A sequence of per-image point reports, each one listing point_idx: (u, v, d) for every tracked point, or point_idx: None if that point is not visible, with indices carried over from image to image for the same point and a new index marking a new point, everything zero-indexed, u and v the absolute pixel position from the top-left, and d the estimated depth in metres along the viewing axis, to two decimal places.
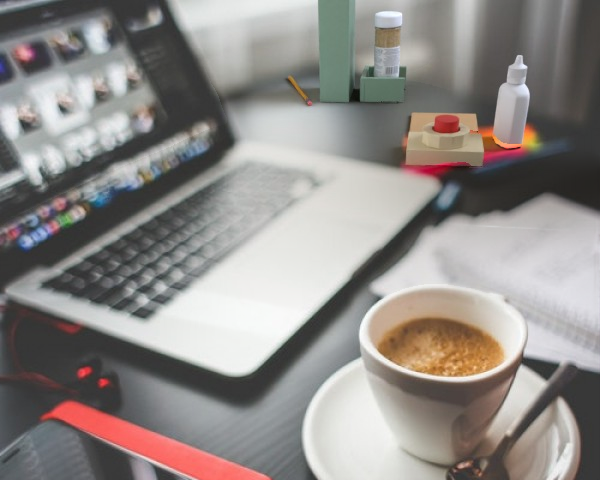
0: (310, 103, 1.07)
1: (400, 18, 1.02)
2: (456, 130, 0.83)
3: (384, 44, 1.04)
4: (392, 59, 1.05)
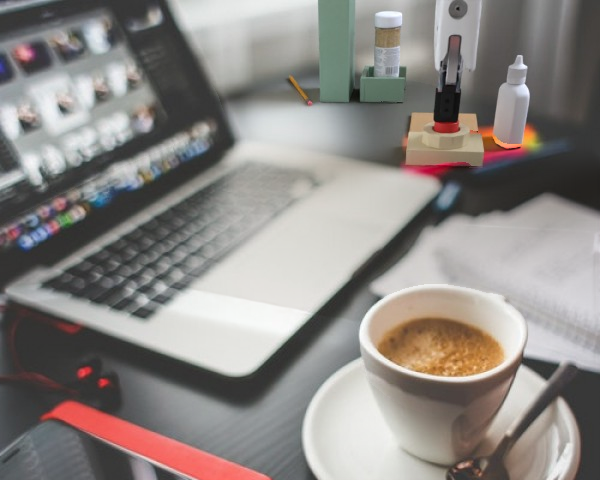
0: (310, 103, 1.07)
1: (400, 18, 1.02)
2: None
3: (384, 44, 1.04)
4: (392, 59, 1.05)
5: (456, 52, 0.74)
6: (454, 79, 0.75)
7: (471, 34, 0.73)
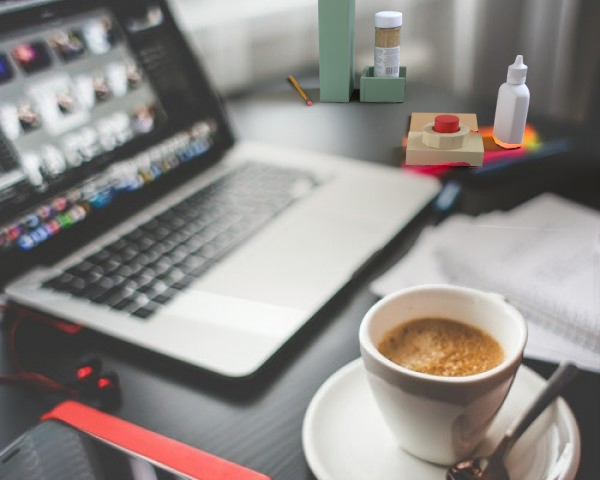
0: (310, 103, 1.07)
1: (400, 18, 1.02)
2: (456, 130, 0.83)
3: (384, 44, 1.04)
4: (392, 59, 1.05)
5: None
6: None
7: None
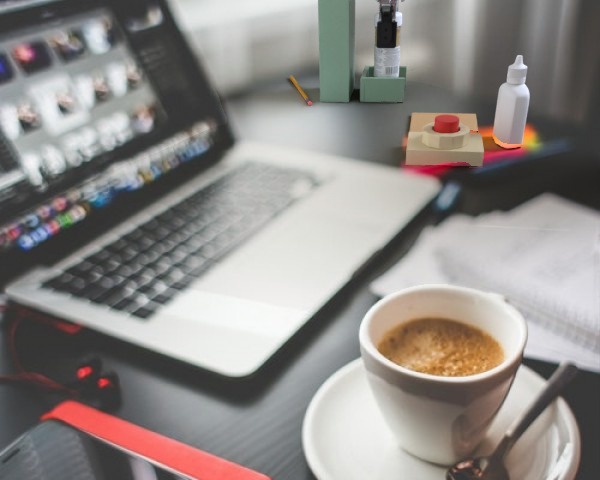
0: (310, 103, 1.07)
1: (400, 18, 1.02)
2: (456, 130, 0.83)
3: None
4: (392, 59, 1.05)
5: None
6: (388, 1, 0.96)
7: None
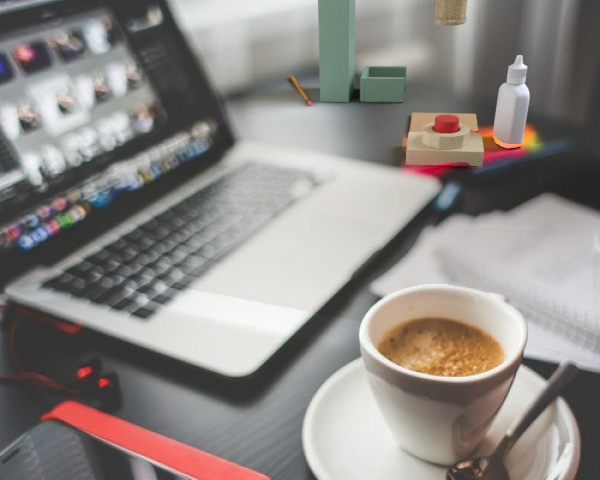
0: (310, 103, 1.07)
1: None
2: (456, 130, 0.83)
3: None
4: None
5: None
6: None
7: None
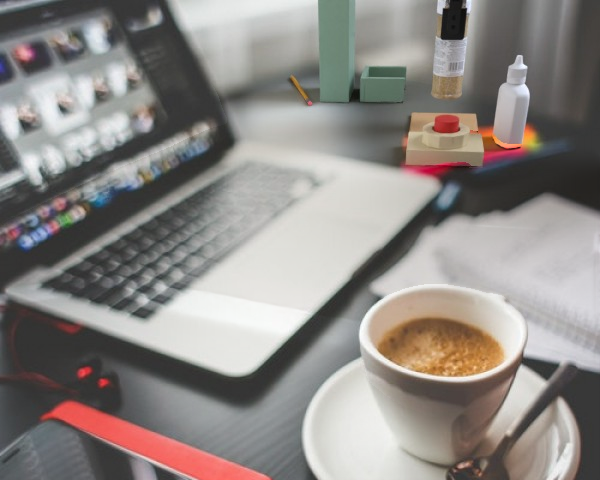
0: (310, 103, 1.07)
1: (469, 3, 0.85)
2: (456, 130, 0.83)
3: None
4: (457, 53, 0.88)
5: None
6: None
7: None
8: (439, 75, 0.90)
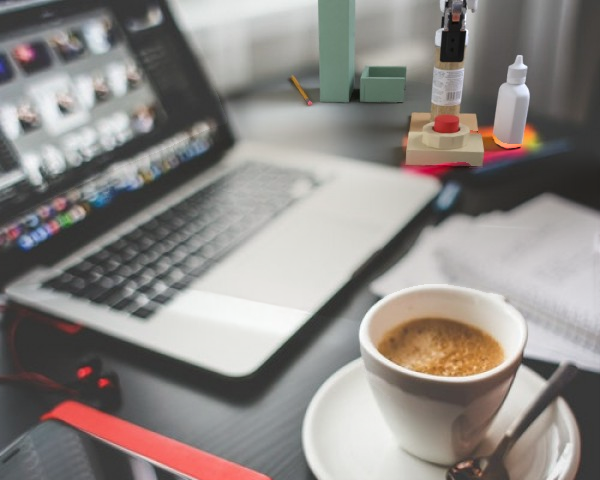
0: (310, 103, 1.07)
1: (466, 36, 0.87)
2: (456, 130, 0.83)
3: (447, 66, 0.89)
4: (455, 83, 0.90)
5: None
6: None
7: None
8: (438, 104, 0.93)
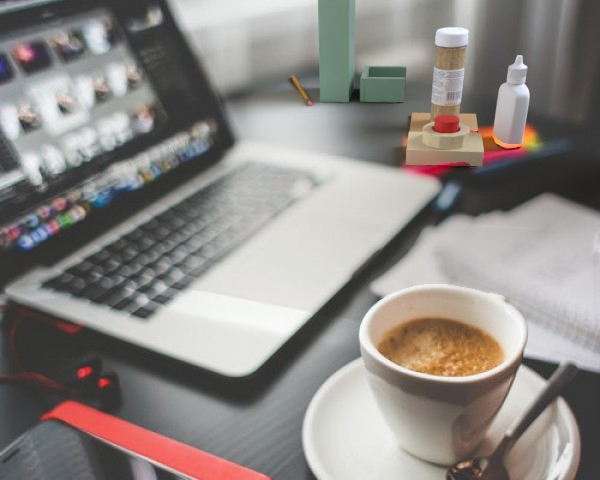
0: (310, 103, 1.07)
1: (467, 36, 0.87)
2: (456, 130, 0.83)
3: (447, 66, 0.89)
4: (455, 83, 0.90)
5: None
6: None
7: None
8: (438, 104, 0.93)
